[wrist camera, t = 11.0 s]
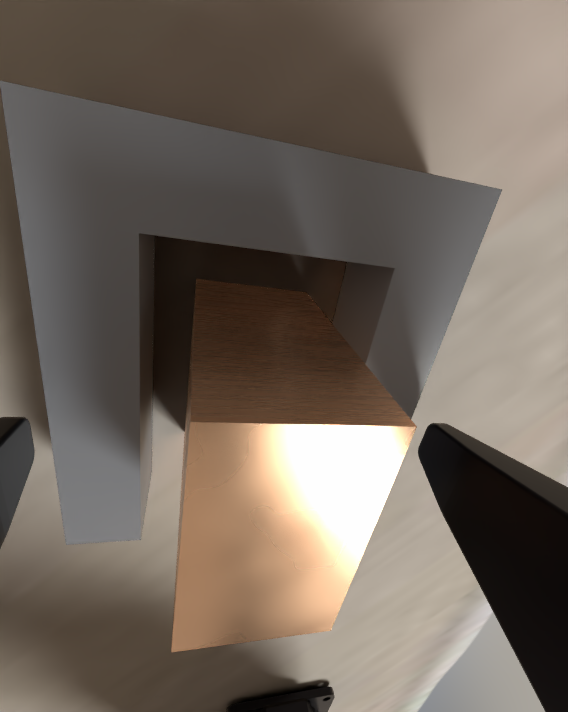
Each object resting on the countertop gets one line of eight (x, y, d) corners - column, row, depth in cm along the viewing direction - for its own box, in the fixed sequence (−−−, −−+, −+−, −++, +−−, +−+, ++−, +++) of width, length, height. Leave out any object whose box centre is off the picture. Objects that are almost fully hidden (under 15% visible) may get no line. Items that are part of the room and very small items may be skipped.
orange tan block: (276, 433, 12) (330, 630, 7) (184, 431, 11) (171, 652, 6) (306, 291, 10) (416, 427, 5) (196, 278, 9) (190, 421, 4)
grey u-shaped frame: (342, 467, 14) (369, 524, 11) (91, 472, 11) (66, 544, 9) (432, 183, 9) (502, 189, 7) (60, 105, 7) (-1, 80, 5)
